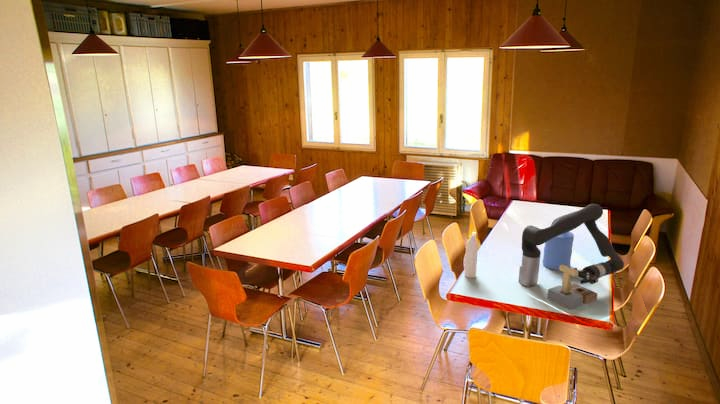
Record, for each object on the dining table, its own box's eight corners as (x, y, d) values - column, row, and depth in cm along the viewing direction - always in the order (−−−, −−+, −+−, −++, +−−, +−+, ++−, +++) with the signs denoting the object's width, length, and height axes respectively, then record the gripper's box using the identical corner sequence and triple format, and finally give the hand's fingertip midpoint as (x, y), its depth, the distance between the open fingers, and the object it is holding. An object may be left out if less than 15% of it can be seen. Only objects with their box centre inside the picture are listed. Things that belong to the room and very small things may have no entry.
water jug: (572, 271, 281) (578, 226, 274) (544, 269, 284) (549, 225, 277) (567, 261, 296) (572, 218, 288) (540, 259, 299) (545, 217, 291)
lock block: (561, 294, 254) (562, 286, 253) (572, 290, 258) (573, 283, 257) (585, 305, 242) (586, 297, 241) (596, 301, 247) (597, 293, 245)
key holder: (546, 299, 249) (548, 289, 247) (558, 295, 253) (559, 285, 251) (570, 311, 237) (571, 300, 235) (581, 306, 241) (583, 295, 239)
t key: (555, 298, 248) (559, 265, 242) (559, 297, 249) (563, 264, 244) (570, 305, 240) (574, 271, 235) (573, 304, 242) (578, 270, 236)
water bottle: (474, 278, 273) (477, 237, 266) (463, 276, 276) (465, 236, 269) (477, 272, 281) (480, 232, 274) (466, 271, 283) (468, 231, 276)
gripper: (583, 260, 256) (562, 267, 249) (607, 270, 244) (587, 277, 237) (581, 273, 258) (561, 280, 251) (605, 283, 246) (585, 290, 239)
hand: (573, 278), depth 244 cm, fingers open, 8 cm apart
